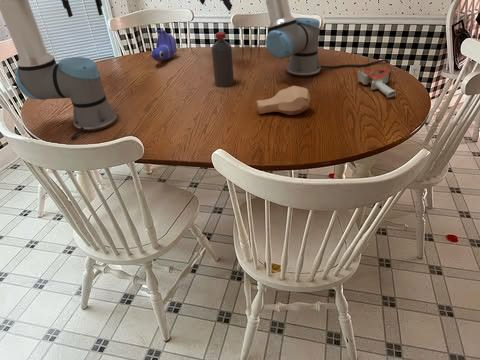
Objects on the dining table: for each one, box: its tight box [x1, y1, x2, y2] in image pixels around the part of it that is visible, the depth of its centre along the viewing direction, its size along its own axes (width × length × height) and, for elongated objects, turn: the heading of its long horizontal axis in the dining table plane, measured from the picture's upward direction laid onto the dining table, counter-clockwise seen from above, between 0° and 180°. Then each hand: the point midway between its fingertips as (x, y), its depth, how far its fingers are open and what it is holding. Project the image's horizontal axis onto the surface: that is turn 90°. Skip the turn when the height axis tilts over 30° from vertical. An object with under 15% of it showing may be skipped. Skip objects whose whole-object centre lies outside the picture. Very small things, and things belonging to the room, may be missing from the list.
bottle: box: [211, 38, 235, 88], centre depth 153 cm, size 8×8×21 cm
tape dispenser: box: [357, 66, 396, 99], centre depth 144 cm, size 18×5×20 cm
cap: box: [215, 31, 226, 40], centre depth 147 cm, size 4×4×2 cm
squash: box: [255, 85, 312, 116], centre depth 130 cm, size 11×20×9 cm, turn 92°
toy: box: [150, 29, 178, 66], centre depth 185 cm, size 10×17×25 cm
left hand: (85, 15), depth 157 cm, fingers open, 13 cm apart
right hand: (217, 4), depth 153 cm, fingers open, 13 cm apart
